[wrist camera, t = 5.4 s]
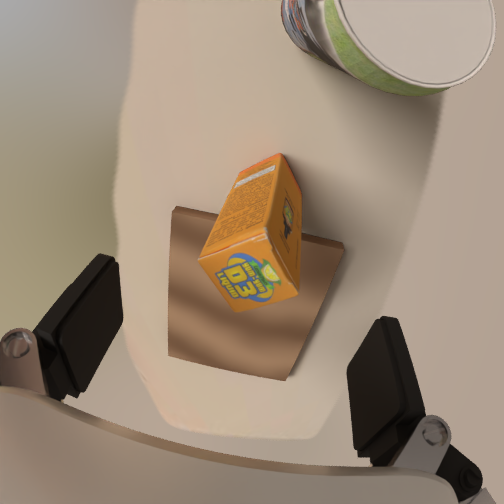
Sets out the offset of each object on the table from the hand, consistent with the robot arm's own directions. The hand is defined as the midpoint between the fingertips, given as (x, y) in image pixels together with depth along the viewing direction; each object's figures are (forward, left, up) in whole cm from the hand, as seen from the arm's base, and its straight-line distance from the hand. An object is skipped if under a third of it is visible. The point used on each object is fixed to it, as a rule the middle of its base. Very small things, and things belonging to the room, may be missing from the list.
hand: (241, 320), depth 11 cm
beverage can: (-12, +2, -12) cm, 17 cm away
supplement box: (-1, 0, -12) cm, 12 cm away
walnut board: (+10, 0, -12) cm, 16 cm away
